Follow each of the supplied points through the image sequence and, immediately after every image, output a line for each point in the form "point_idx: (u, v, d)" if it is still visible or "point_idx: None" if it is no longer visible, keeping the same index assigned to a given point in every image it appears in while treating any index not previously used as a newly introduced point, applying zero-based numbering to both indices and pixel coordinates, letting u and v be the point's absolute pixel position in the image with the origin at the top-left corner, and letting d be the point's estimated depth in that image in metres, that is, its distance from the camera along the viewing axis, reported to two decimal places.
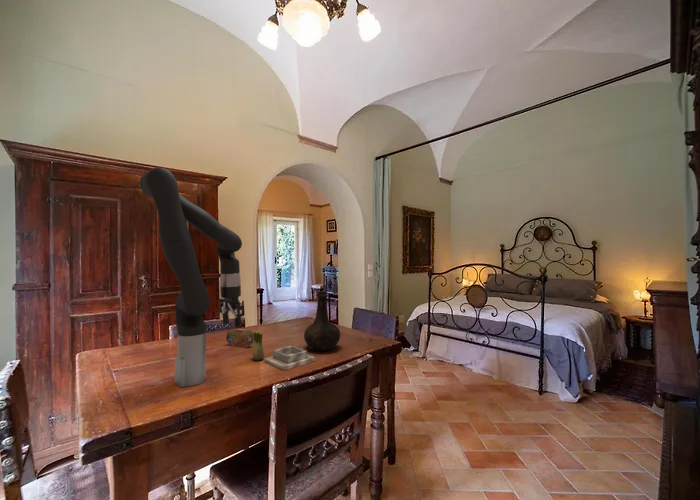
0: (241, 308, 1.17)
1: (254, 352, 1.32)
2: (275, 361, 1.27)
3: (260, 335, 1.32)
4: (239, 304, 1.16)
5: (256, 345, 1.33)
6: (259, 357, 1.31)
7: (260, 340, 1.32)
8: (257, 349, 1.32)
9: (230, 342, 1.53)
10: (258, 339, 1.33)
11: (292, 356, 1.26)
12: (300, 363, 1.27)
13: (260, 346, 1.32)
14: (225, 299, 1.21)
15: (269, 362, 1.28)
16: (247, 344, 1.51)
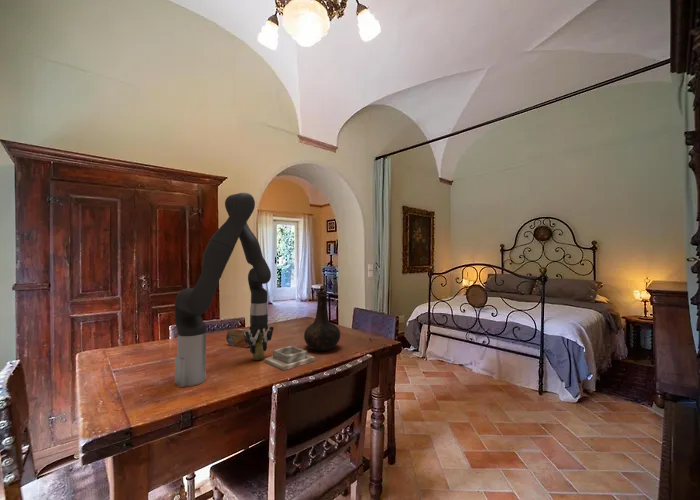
0: None
1: None
2: (275, 361, 1.27)
3: (260, 335, 1.32)
4: None
5: (256, 345, 1.33)
6: (259, 357, 1.31)
7: (260, 340, 1.32)
8: (257, 349, 1.32)
9: (230, 342, 1.53)
10: (258, 339, 1.33)
11: (292, 356, 1.26)
12: (300, 363, 1.27)
13: (260, 346, 1.32)
14: (255, 327, 1.31)
15: (269, 362, 1.28)
16: (247, 344, 1.51)
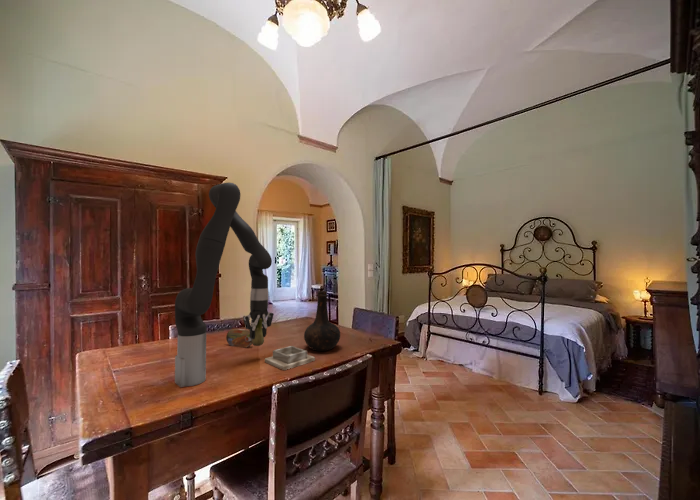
0: None
1: None
2: (275, 361, 1.27)
3: (260, 320, 1.32)
4: None
5: (256, 331, 1.32)
6: (259, 342, 1.31)
7: (260, 325, 1.32)
8: (257, 334, 1.32)
9: (230, 342, 1.53)
10: (258, 325, 1.33)
11: (292, 356, 1.26)
12: (300, 363, 1.27)
13: (260, 331, 1.32)
14: (255, 312, 1.31)
15: (269, 362, 1.28)
16: (247, 344, 1.51)
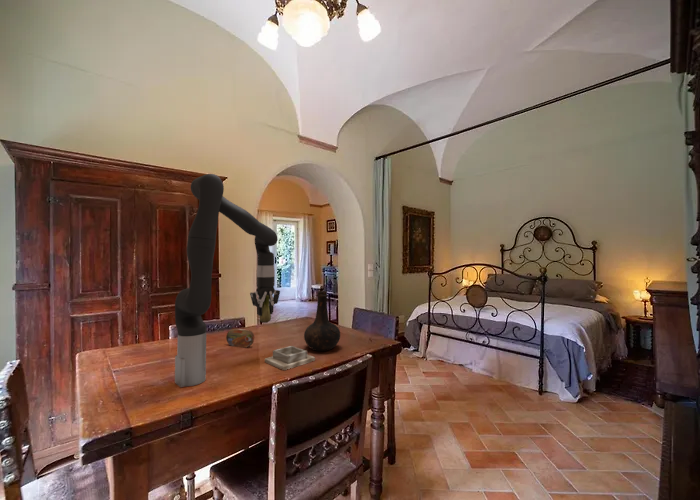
0: None
1: None
2: (275, 361, 1.27)
3: (267, 297, 1.32)
4: None
5: (263, 307, 1.33)
6: (266, 319, 1.31)
7: (267, 302, 1.32)
8: (264, 311, 1.32)
9: (230, 342, 1.53)
10: (265, 301, 1.33)
11: (292, 356, 1.26)
12: (300, 363, 1.27)
13: (267, 308, 1.32)
14: (262, 289, 1.31)
15: (269, 362, 1.28)
16: (247, 344, 1.51)
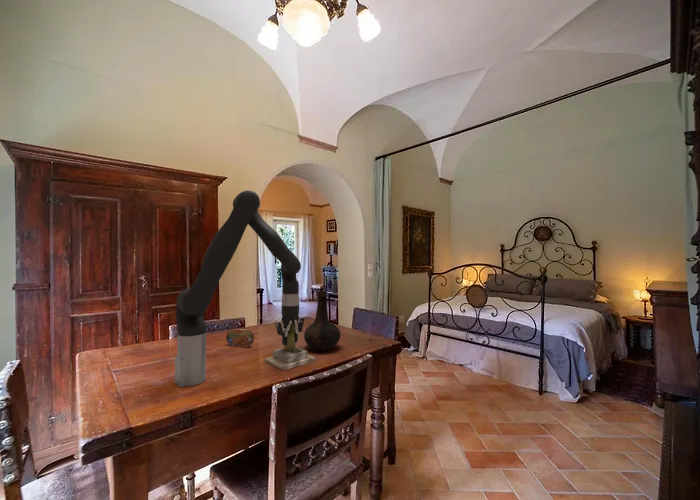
0: None
1: None
2: (275, 361, 1.27)
3: (292, 326, 1.30)
4: None
5: (288, 336, 1.30)
6: (291, 348, 1.29)
7: (292, 331, 1.30)
8: (289, 340, 1.30)
9: (230, 342, 1.53)
10: (290, 330, 1.31)
11: (292, 356, 1.26)
12: (300, 363, 1.27)
13: (292, 337, 1.29)
14: (287, 318, 1.29)
15: (269, 362, 1.28)
16: (247, 344, 1.51)
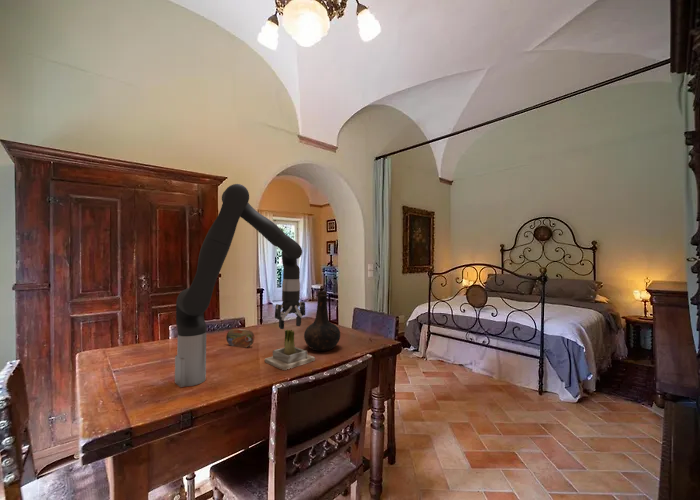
0: None
1: (286, 351, 1.29)
2: (275, 361, 1.27)
3: (292, 333, 1.30)
4: None
5: (288, 343, 1.30)
6: None
7: (292, 338, 1.30)
8: (289, 347, 1.29)
9: (230, 342, 1.53)
10: (290, 337, 1.30)
11: (292, 356, 1.26)
12: (300, 363, 1.27)
13: (292, 344, 1.29)
14: (288, 303, 1.29)
15: (269, 362, 1.28)
16: (247, 344, 1.51)
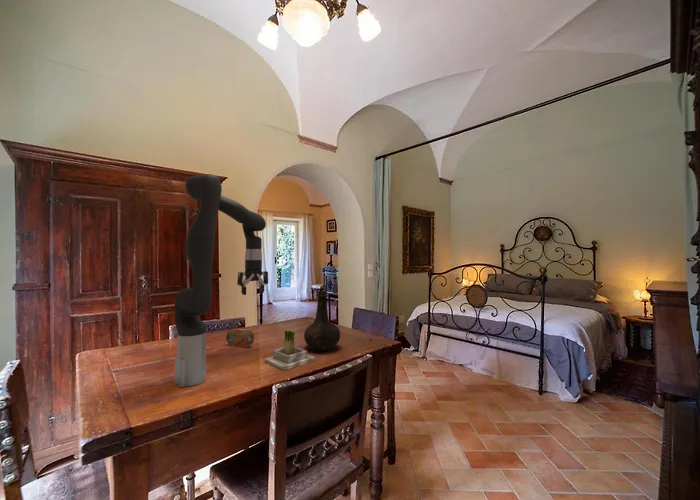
0: None
1: (286, 351, 1.29)
2: (275, 361, 1.27)
3: (292, 333, 1.30)
4: None
5: (288, 343, 1.30)
6: None
7: (292, 338, 1.30)
8: (289, 347, 1.29)
9: (230, 342, 1.53)
10: (290, 337, 1.30)
11: (292, 356, 1.26)
12: (300, 363, 1.27)
13: (292, 344, 1.29)
14: (250, 271, 1.39)
15: (269, 362, 1.28)
16: (247, 344, 1.51)
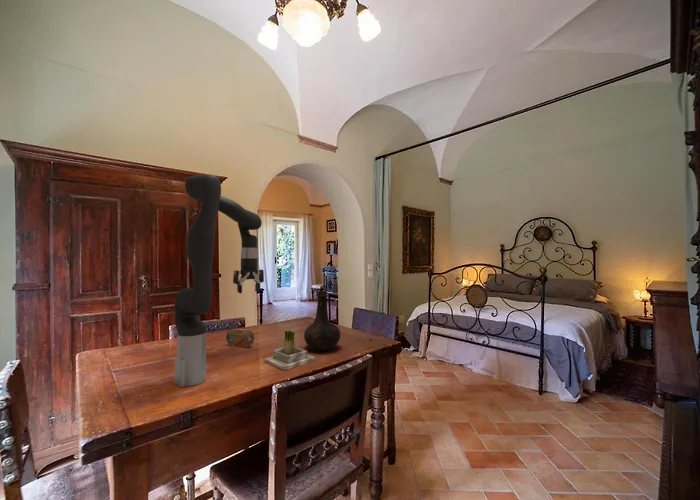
0: None
1: (286, 351, 1.29)
2: (275, 361, 1.27)
3: (292, 333, 1.30)
4: None
5: (288, 343, 1.30)
6: None
7: (292, 338, 1.30)
8: (289, 347, 1.29)
9: (230, 342, 1.53)
10: (290, 337, 1.30)
11: (292, 356, 1.26)
12: (300, 363, 1.27)
13: (292, 344, 1.29)
14: (246, 270, 1.40)
15: (269, 362, 1.28)
16: (247, 344, 1.51)
